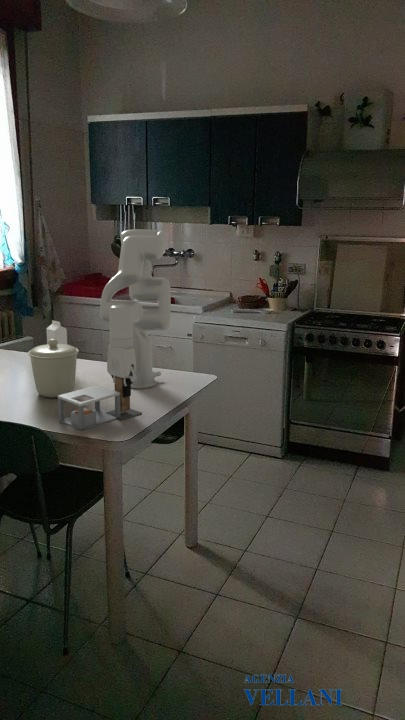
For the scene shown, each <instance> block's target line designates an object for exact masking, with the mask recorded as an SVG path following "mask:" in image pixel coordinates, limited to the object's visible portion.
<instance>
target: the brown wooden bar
mask: <svg viewBox="0 0 405 720" xmlns="http://www.w3.org/2000/svg"><path fill="white" fill-rule="evenodd" d="M127 380H128V378H127ZM122 386H124V384H123V378H120V377H117V376H115V383H114V391H117V392H120V411H121V412H124V411H127V410H130V409H131V396H128V397H125V398H124V397H123V388H122Z"/></svg>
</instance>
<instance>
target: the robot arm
mask: <svg viewBox="0 0 405 720" xmlns="http://www.w3.org/2000/svg"><path fill="white" fill-rule="evenodd" d="M120 243H121V246H120V253H119V254H120V255H119V262H118V263H119V264H118V270H117V273H116V274H115V275H114V276H112V277H111V279H110V280H109V281H108V282H107V283H106V284H105V286H104V288H103V290H102V293H101V299H100V304H99V305H100V307H99V316H100V318H101V320H102V321H103V322H104V323H109V345H108V350H107V358H106V360H107V362H106V364H107V365H106V372H107V373H108V374H109V375H110V376H111V378H112V382H113V384H115V376H117V377H120V378H123V384H124V386H122V388H123V397H124V398H125V397H128V396H130V397H131V396H132V389H138V390H139V389H143V390H145V389H151V388H154V387H155V386H156V385H157V379H155V378H156V377H160V376H162V372H161V371H160V370H158V371H155V372H154V370H153V342H152V341H153V339H152V338H151V336H150V334H148V332H147V331H159V332H161V331H167V330H168V329H169V328H170V324H171V309H172V308H171V305H172V304H171V301H172V300H171V297H172V292H171V291H172V290H171V289H172V287H171V284H170V280H168V279H167V278H165V277H161V276H159V277H157V276H153V275H152V269H153V268H152V267H153V265H152V262H151V261H157V260H161V258H162V257H163V255H164V254H165V252H166V250H167V246H168V237H167V234H166V231H164V230H162V229H140V228H139V229H137V228H136V229H135V228H134V229H126V230H124V231H122V232H121V234H120ZM126 288H128V295H129V297H130V300H114V299H112V298H113V297H114V295H115V294H117V292H119V291H120V290H124V289H126ZM140 302H141V303H157V304H158V305H147V304H146V305H144V304H143V305H142V304H141V303H140ZM127 378H128V380H127Z"/></svg>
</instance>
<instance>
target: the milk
mask: <svg viewBox="0 0 405 720" xmlns="http://www.w3.org/2000/svg"><path fill="white" fill-rule="evenodd" d="M67 331H68V329H67V328H66V327H64V326H62V325H61V321H57V320H52V319H51V324H50V325H48V326H47V327H46V344H48V341H49V340H50V339H56V340H57V341H58V344H67V345H68V332H67Z"/></svg>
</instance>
